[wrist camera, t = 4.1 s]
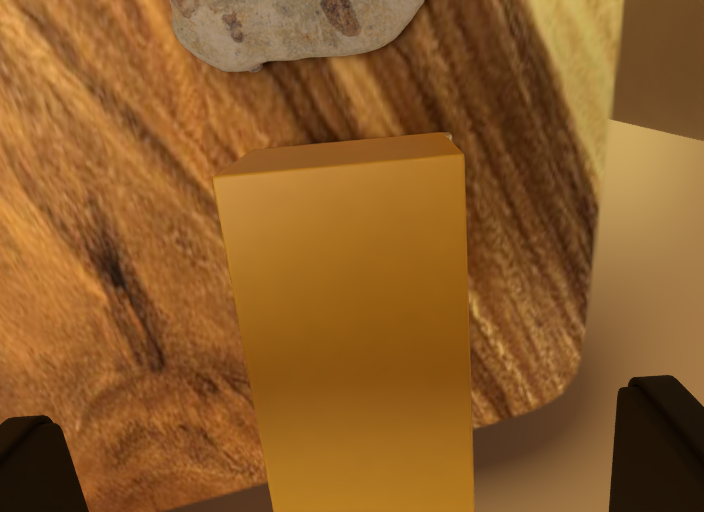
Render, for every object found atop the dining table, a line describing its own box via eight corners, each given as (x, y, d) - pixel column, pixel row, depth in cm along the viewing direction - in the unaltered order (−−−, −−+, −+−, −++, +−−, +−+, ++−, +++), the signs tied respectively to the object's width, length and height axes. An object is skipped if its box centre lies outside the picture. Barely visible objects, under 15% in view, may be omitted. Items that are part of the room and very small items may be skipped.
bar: (443, 131, 12) (464, 153, 9) (457, 473, 15) (476, 574, 12) (251, 149, 12) (210, 176, 9) (303, 480, 16) (285, 579, 13)
